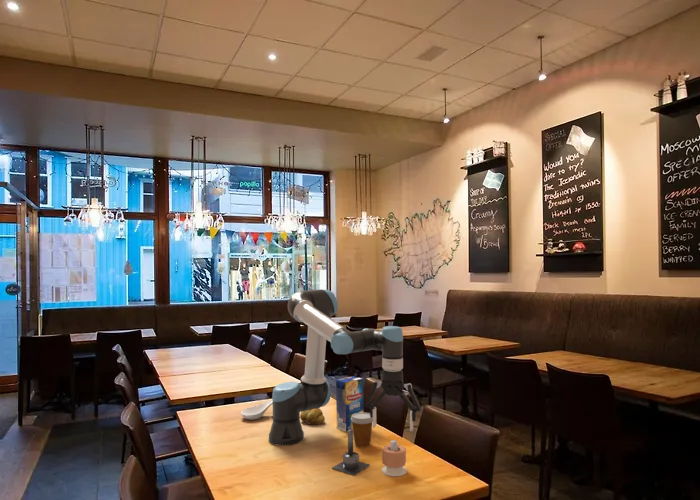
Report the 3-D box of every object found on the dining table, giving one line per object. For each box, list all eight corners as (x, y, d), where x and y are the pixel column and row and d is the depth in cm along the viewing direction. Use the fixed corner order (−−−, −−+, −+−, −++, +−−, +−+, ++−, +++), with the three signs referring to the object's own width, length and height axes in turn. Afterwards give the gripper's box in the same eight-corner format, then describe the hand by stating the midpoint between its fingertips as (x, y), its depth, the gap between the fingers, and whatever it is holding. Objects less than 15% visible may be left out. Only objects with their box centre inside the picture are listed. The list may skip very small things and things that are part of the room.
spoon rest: (246, 423, 225) (245, 408, 225) (237, 417, 234) (237, 403, 235) (290, 414, 238) (290, 400, 238) (280, 409, 247) (280, 395, 248)
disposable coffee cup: (372, 449, 189) (371, 419, 190) (349, 448, 191) (348, 418, 192) (375, 441, 199) (375, 412, 199) (353, 439, 201) (353, 411, 201)
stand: (332, 468, 171) (331, 431, 172) (347, 459, 180) (347, 424, 180) (354, 475, 166) (353, 436, 166) (369, 465, 174) (369, 428, 174)
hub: (377, 472, 168) (376, 442, 168) (390, 463, 175) (389, 435, 176) (399, 478, 163) (398, 448, 163) (411, 469, 170) (410, 440, 170)
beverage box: (363, 426, 218) (363, 378, 219) (346, 431, 211) (345, 382, 212) (353, 422, 223) (353, 376, 224) (336, 428, 216) (335, 380, 217)
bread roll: (329, 422, 224) (328, 405, 224) (313, 427, 217) (313, 410, 217) (311, 417, 233) (311, 400, 233) (296, 421, 226) (296, 405, 226)
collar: (380, 466, 166) (380, 451, 166) (385, 457, 174) (385, 443, 174) (403, 468, 164) (403, 453, 164) (406, 459, 172) (406, 445, 172)
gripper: (356, 369, 170) (357, 428, 170) (425, 373, 163) (426, 435, 163) (361, 365, 177) (362, 421, 177) (428, 369, 171) (428, 427, 170)
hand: (392, 428), depth 170 cm, fingers open, 13 cm apart
